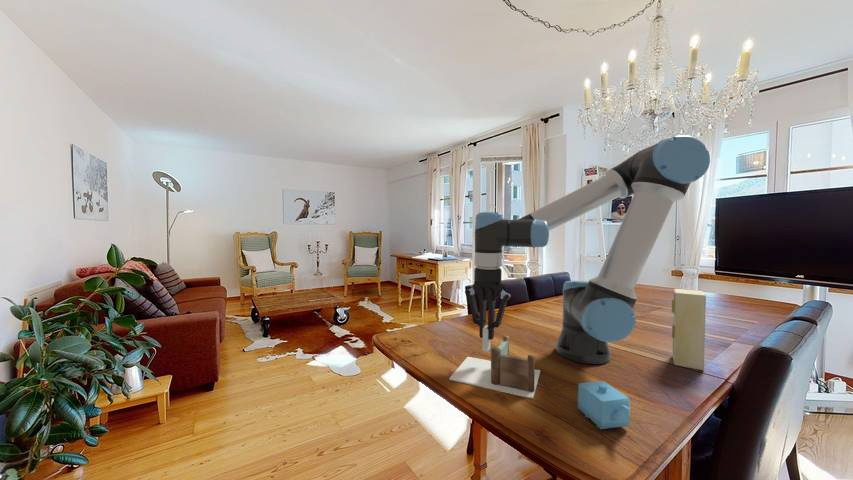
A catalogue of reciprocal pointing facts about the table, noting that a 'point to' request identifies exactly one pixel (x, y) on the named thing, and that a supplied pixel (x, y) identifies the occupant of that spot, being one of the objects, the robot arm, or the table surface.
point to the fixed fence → (512, 370)
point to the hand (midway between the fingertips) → (486, 349)
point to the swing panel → (505, 345)
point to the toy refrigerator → (688, 328)
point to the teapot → (603, 404)
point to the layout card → (486, 377)
